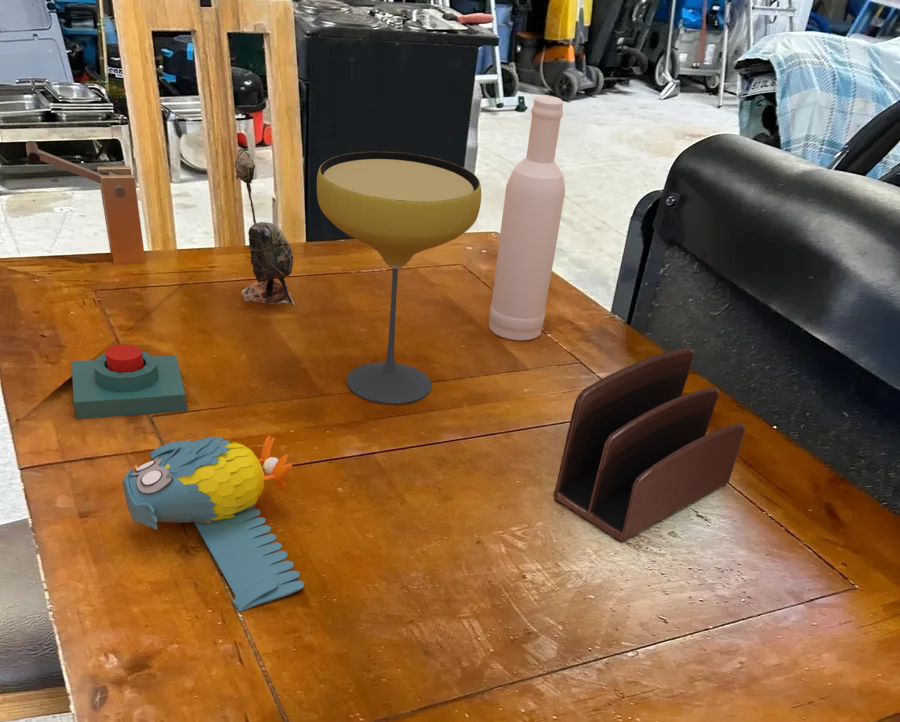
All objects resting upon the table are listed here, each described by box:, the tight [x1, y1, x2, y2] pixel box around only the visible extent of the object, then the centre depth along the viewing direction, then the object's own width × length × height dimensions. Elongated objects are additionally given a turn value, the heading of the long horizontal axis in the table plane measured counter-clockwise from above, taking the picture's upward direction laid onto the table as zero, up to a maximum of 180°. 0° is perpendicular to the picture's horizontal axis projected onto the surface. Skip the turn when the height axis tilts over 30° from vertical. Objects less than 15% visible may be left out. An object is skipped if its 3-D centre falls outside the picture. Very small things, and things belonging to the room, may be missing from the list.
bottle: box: [488, 94, 566, 342], centre depth 119 cm, size 8×8×30 cm
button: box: [104, 344, 144, 373], centre depth 102 cm, size 4×4×2 cm
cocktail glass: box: [316, 151, 482, 405], centre depth 105 cm, size 18×18×25 cm
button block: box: [71, 351, 188, 420], centre depth 103 cm, size 12×10×4 cm
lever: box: [25, 140, 118, 185], centre depth 121 cm, size 13×6×2 cm, turn 112°
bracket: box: [96, 165, 146, 266], centre depth 127 cm, size 12×9×14 cm
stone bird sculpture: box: [234, 150, 296, 309], centre depth 121 cm, size 8×11×20 cm
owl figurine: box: [121, 434, 305, 613], centre depth 85 cm, size 28×9×15 cm
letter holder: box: [553, 347, 746, 543], centre depth 95 cm, size 10×20×14 cm, turn 132°
